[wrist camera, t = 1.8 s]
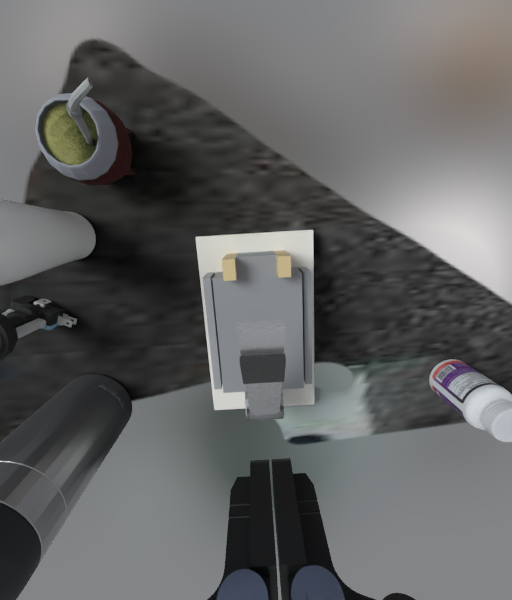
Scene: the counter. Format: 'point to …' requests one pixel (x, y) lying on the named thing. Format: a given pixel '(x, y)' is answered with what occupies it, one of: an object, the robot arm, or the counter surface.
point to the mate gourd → (84, 138)
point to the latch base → (247, 243)
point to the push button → (28, 321)
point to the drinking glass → (40, 239)
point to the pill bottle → (474, 397)
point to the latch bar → (262, 366)
